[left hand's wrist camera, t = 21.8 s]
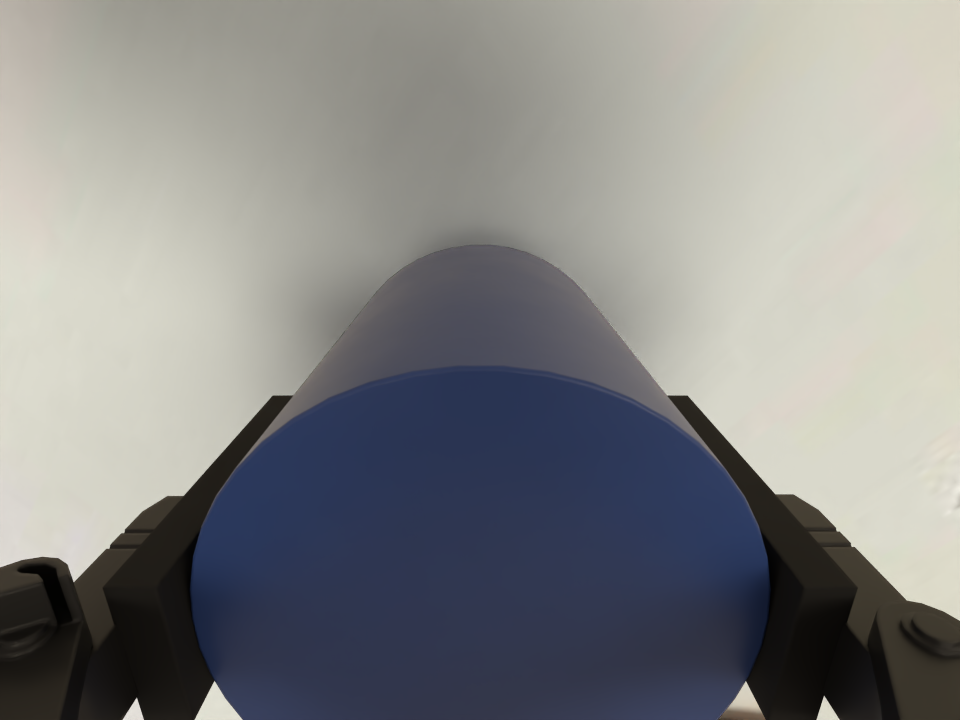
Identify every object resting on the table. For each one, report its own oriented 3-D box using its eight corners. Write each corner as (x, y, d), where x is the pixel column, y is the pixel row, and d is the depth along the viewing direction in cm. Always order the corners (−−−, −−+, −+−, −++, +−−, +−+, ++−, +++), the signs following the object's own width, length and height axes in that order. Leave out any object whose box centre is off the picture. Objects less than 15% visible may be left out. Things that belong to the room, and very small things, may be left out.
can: (336, 464, 20) (186, 782, 10) (366, 218, 17) (191, 305, 6) (572, 505, 20) (664, 843, 10) (644, 274, 17) (877, 434, 7)
